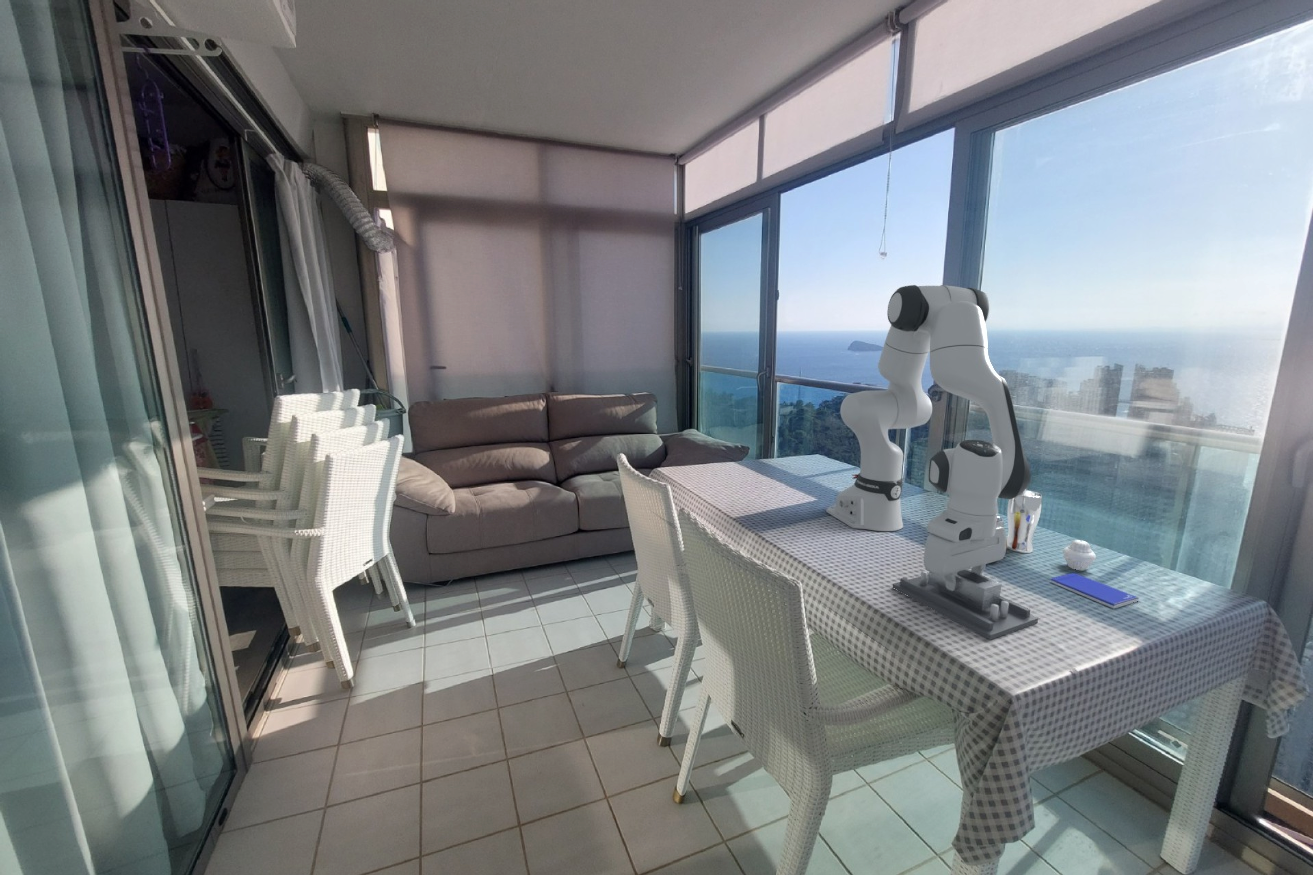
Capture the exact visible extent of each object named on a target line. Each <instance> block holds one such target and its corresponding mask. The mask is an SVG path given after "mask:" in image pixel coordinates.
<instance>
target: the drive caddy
mask: <svg viewBox="0 0 1313 875" xmlns="http://www.w3.org/2000/svg"><path fill="white" fill-rule="evenodd" d="M928 574H929V580H928V584H929V585H931V586H933V587H936V588H938V589H940V590H942V591H944V592H946V593H948V594H950V595H952V596H954V597H956V598H958V599H960V600H962V601H964V602H966V603H968V604H970V605H972V606H974V607H976V608H978V609H980V610H985V609H988V608H991V605H992V604H996V605H999V599H1000V596H1001V592H1002V591H1001V590H1002V583H1001V582H999V581H996V580H994V579H991V578H989V577H986V576H985V575H982V574H981V575H980V574H978V573H975V572H973V571H971V570H970V569H966V570H962V571H959V572H957V576H955V579H956V581H957V582H959V586H958V589H957V590H954V591H951V590H949V589H947V588H946V579H945V577H944V576H937V575H935V574H933V573H931V572H929V571H928Z"/></svg>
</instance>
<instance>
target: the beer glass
mask: <svg viewBox="0 0 1313 875" xmlns="http://www.w3.org/2000/svg"><path fill="white" fill-rule="evenodd" d="M1042 498H1043V495H1042V493H1040V492H1038V491H1035V490H1029V489H1026V490H1025V491H1023V492H1022V493H1021V494H1020V495H1018V496H1016V497H1015V498H1013V499H1008V504H1007V511H1006V512H1007V528H1008V531H1007V536H1006V540H1007V548H1006V550H1007V549H1008V550H1009V551H1011V552H1016V553H1021V554H1029V553H1033V551H1034V548H1033V539H1034V534H1035V531H1036V529H1037V527H1038V523H1039V521H1040V518H1041V512H1042V505H1043V504H1042V502H1043V499H1042Z"/></svg>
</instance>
